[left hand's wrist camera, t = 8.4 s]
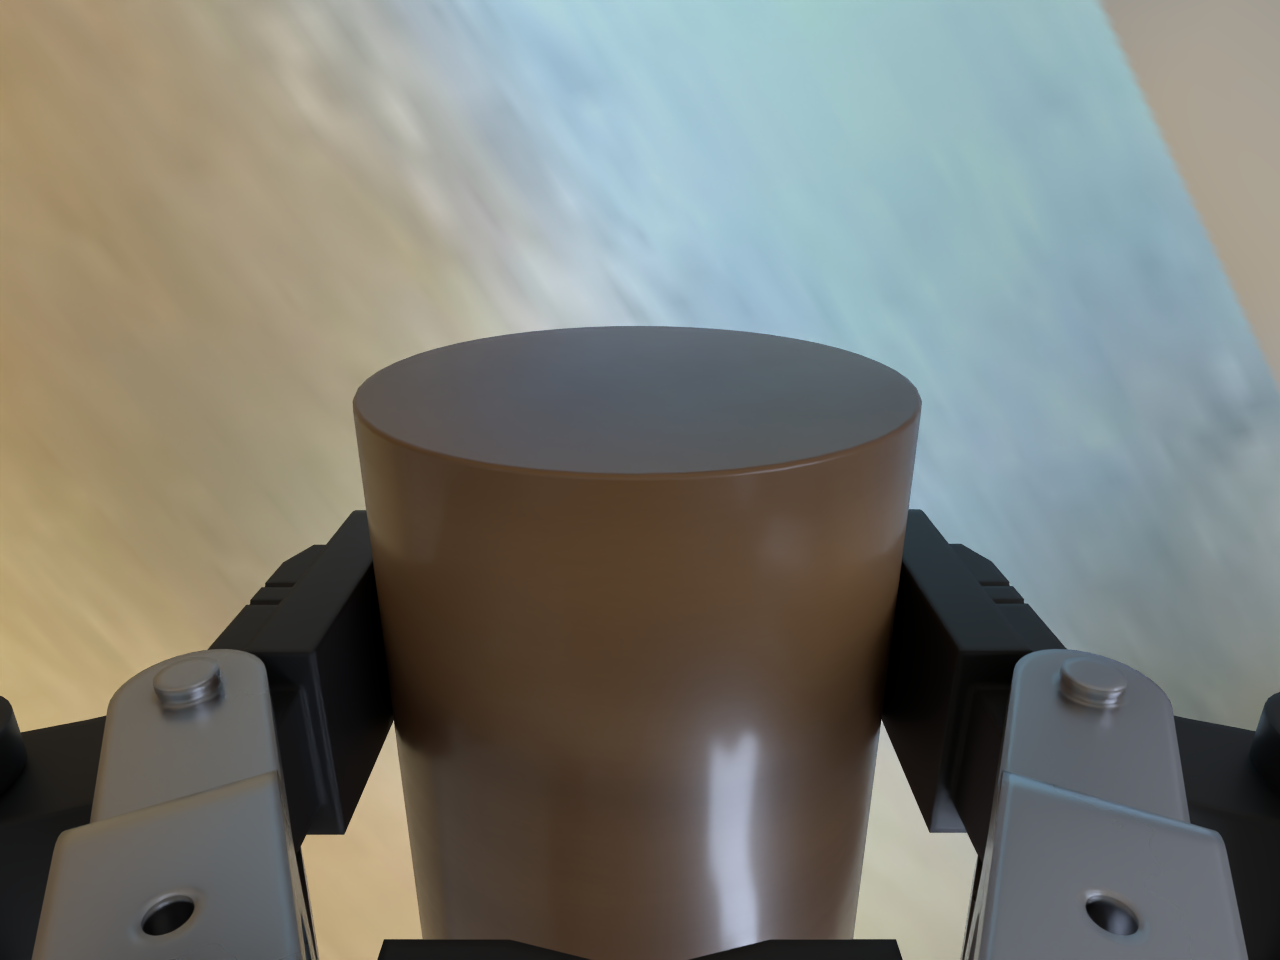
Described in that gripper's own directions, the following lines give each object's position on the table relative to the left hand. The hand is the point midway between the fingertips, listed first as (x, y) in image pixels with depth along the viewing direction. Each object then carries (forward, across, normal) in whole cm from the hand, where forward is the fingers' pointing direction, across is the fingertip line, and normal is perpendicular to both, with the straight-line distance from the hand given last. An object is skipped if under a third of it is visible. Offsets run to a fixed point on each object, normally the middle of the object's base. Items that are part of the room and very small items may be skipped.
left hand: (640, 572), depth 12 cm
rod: (+2, 0, -9) cm, 9 cm away
